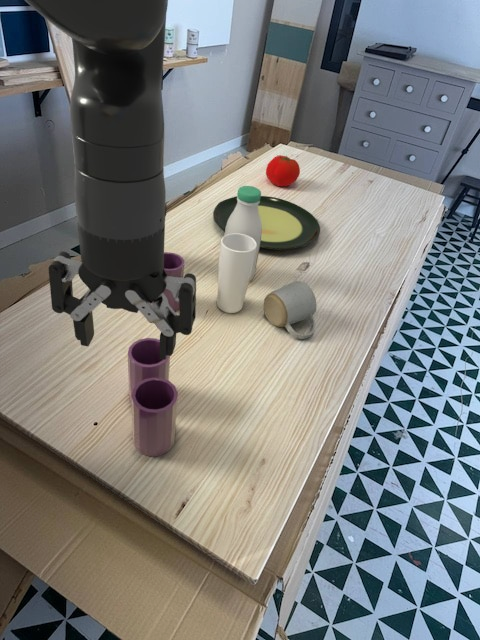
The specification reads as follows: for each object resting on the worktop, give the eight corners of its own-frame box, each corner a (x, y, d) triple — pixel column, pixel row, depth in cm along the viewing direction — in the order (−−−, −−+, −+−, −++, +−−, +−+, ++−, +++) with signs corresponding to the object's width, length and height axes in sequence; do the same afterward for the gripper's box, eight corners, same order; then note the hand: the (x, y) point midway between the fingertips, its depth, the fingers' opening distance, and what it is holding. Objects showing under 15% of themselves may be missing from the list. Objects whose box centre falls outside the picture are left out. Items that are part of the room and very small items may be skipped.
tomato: (261, 176, 146) (265, 150, 141) (292, 178, 149) (297, 152, 143) (267, 189, 140) (272, 162, 134) (300, 191, 142) (306, 164, 136)
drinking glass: (249, 301, 97) (261, 238, 87) (241, 320, 92) (252, 255, 82) (218, 292, 97) (226, 229, 88) (208, 311, 92) (215, 246, 83)
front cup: (138, 461, 65) (138, 417, 59) (128, 428, 69) (127, 382, 63) (179, 449, 68) (183, 405, 61) (167, 417, 72) (169, 373, 65)
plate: (195, 236, 113) (195, 227, 112) (233, 193, 134) (234, 185, 133) (305, 269, 109) (308, 260, 107) (327, 219, 130) (329, 211, 128)
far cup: (155, 315, 89) (156, 272, 83) (147, 296, 93) (147, 254, 87) (185, 310, 92) (188, 268, 85) (176, 292, 96) (178, 250, 89)
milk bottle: (251, 287, 100) (267, 202, 88) (216, 280, 101) (226, 194, 88) (256, 268, 106) (271, 185, 93) (223, 261, 107) (233, 178, 94)
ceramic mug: (257, 314, 94) (264, 284, 89) (288, 302, 98) (296, 273, 93) (292, 347, 88) (301, 316, 83) (322, 333, 92) (333, 303, 87)
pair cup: (134, 415, 71) (133, 370, 65) (125, 387, 75) (123, 342, 69) (172, 406, 73) (175, 362, 67) (161, 379, 77) (163, 334, 71)
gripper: (21, 220, 38) (48, 360, 48) (194, 250, 38) (183, 383, 48) (58, 183, 44) (75, 315, 54) (208, 208, 44) (196, 336, 54)
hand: (126, 347), depth 51 cm, fingers open, 8 cm apart
